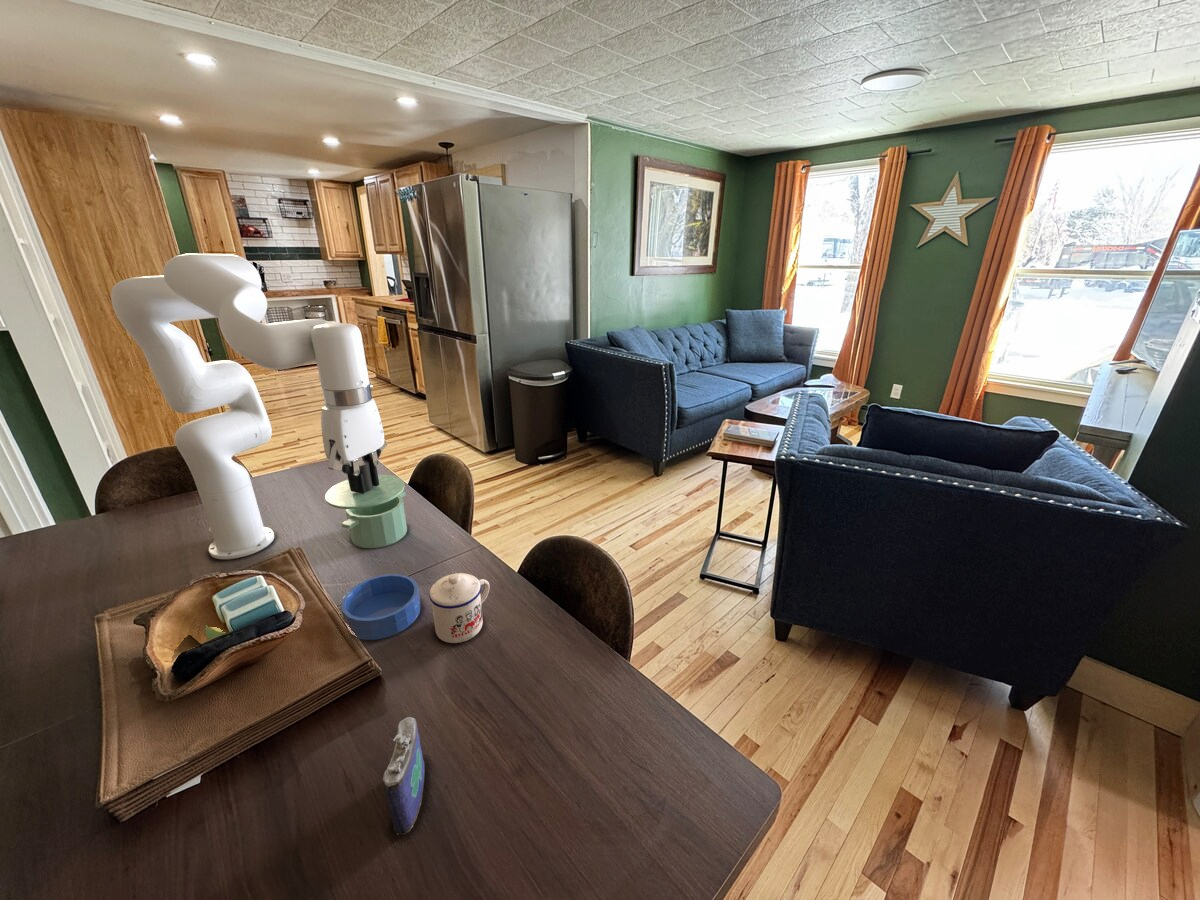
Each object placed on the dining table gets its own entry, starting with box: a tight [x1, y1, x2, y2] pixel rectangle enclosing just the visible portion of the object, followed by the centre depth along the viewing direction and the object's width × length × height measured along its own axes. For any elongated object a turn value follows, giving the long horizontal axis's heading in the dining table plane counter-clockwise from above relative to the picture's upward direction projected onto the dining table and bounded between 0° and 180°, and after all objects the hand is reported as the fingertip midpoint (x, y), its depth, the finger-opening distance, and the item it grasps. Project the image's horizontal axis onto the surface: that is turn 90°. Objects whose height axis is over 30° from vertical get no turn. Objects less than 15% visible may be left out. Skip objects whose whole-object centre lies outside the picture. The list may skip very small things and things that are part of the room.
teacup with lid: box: [428, 572, 491, 644], centre depth 88 cm, size 12×9×12 cm
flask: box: [382, 716, 426, 836], centre depth 59 cm, size 9×3×11 cm, turn 8°
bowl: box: [340, 573, 422, 641], centre depth 91 cm, size 13×13×4 cm
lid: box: [324, 460, 405, 510], centre depth 90 cm, size 14×14×7 cm
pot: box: [340, 491, 408, 549], centre depth 116 cm, size 13×18×8 cm
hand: (365, 487), depth 90 cm, fingers closed on lid, 2 cm apart
